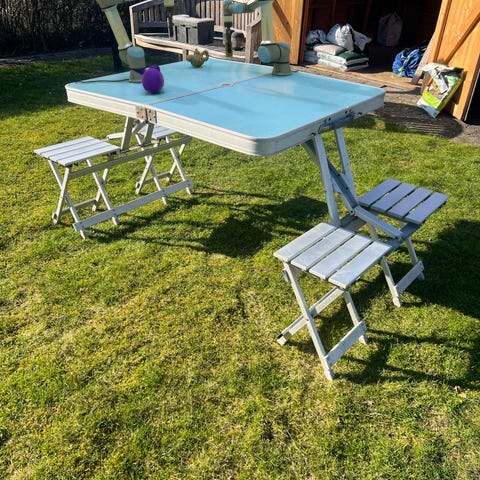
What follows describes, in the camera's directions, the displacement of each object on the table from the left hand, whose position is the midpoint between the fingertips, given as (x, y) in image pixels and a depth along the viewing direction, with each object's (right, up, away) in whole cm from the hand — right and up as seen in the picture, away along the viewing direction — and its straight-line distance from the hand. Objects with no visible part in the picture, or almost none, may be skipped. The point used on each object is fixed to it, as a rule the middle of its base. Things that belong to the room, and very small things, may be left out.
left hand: (171, 36), depth 353 cm
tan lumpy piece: (+17, -11, +35) cm, 41 cm away
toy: (-7, -58, -45) cm, 74 cm away
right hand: (+45, -4, +21) cm, 50 cm away
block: (+45, -7, +23) cm, 51 cm away
